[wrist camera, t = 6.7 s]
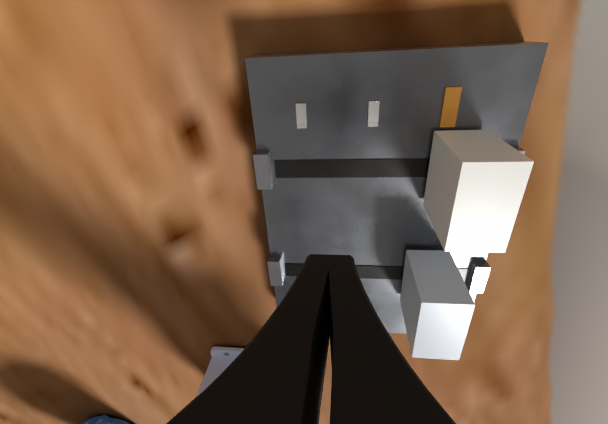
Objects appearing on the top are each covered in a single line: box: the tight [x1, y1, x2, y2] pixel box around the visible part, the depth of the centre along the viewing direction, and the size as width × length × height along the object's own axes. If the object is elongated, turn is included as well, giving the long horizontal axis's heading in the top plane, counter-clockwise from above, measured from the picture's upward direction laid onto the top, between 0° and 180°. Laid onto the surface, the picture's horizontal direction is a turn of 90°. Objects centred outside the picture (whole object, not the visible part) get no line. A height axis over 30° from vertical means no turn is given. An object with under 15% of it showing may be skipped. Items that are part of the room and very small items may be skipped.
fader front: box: [423, 130, 534, 253], centre depth 14 cm, size 2×4×4 cm, turn 3°
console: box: [245, 41, 548, 334], centre depth 19 cm, size 13×18×2 cm
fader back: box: [400, 250, 475, 360], centre depth 18 cm, size 2×4×4 cm, turn 3°
